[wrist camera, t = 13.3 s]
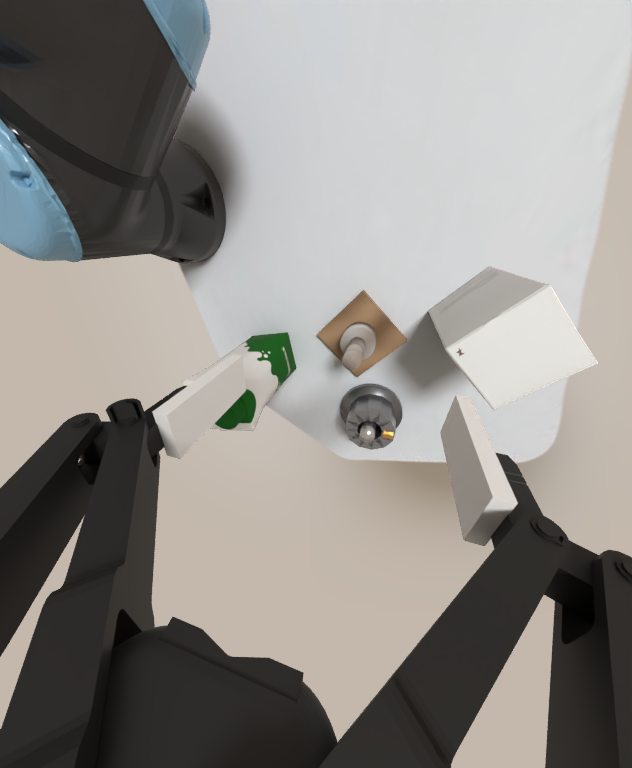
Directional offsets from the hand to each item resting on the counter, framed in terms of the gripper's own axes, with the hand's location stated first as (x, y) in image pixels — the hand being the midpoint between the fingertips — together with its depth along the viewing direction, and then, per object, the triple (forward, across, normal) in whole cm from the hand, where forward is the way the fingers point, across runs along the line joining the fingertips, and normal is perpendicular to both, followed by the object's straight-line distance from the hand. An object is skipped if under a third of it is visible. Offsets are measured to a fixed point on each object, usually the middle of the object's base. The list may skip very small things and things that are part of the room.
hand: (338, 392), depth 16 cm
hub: (+27, +3, -20) cm, 33 cm away
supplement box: (+27, +14, 0) cm, 30 cm away
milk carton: (+27, -16, -11) cm, 33 cm away
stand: (+27, -1, -6) cm, 27 cm away
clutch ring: (+26, +3, -20) cm, 32 cm away
